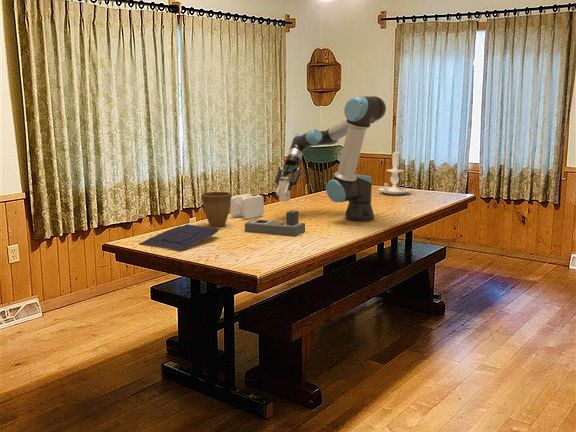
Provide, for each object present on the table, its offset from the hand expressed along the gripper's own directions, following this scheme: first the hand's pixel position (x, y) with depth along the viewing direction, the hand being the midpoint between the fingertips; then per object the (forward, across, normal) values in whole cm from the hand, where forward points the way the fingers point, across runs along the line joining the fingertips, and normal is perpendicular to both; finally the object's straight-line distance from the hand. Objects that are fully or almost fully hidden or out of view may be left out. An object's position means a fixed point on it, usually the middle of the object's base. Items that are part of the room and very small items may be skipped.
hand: (281, 194), depth 314 cm
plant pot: (+26, +25, +7) cm, 37 cm away
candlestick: (-66, -32, -86) cm, 113 cm away
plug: (0, 0, -5) cm, 5 cm away
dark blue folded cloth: (+51, +23, +31) cm, 64 cm away
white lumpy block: (+8, +21, -11) cm, 25 cm away
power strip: (+27, -7, +7) cm, 29 cm away
